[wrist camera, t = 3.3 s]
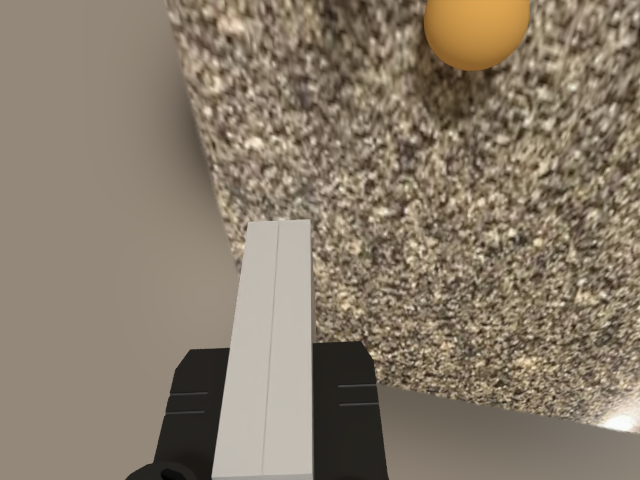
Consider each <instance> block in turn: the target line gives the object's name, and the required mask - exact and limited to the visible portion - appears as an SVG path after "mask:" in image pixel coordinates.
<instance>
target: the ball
mask: <svg viewBox="0 0 640 480" xmlns="http://www.w3.org/2000/svg"><path fill="white" fill-rule="evenodd" d="M529 15H530V5H529V0H428V1H427V4H426V8H425V15H424V29H425V34H426V38H427V41H428V43H429V45H430V47H431V49H432V50H433V52H434V53H435V54H436V55H437V57H438V58H439V59H441V60H442V61H443V62H445V63H446V64H448V65H449V66H451V67H454V68H456V69H460V70H466V71H478V70H484V69H487V68H490V67H493V66H495V65H497V64H499V63H500V62H502V61H503V60H505V59H506V58H507V57H508V56H510V55H511V54H512V53H513V52H514V50H515V49H516V48H517V47H518V45H519V44H520V42H521V41H522V39H523V37H524V35H525V33H526V30H527V27H528V23H529Z"/></svg>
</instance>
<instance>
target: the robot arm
mask: <svg viewBox="0 0 640 480" xmlns="http://www.w3.org/2000/svg"><path fill="white" fill-rule="evenodd" d="M125 480H389V478H388V474H387V466H386V458H385V451H384V442H383V434H382V425H381V417H380V409H379V402H378V394H377V387H376V377H375V368H374V360H373V359H372V357H371V356H370V354H369V353H368V351H367V350H366V348H365V347H364V345H363V343H362V342H361V341H353V342H328V343H316V317H315V290H314V273H313V257H312V240H311V224H310V219H307V220H284V221H261V222H248V228H247V235H246V242H245V249H244V256H243V263H242V270H241V276H240V283H239V290H238V297H237V305H236V311H235V318H234V325H233V332H232V339H231V346H230V348H217V349H192V350H189V352H188V353H187V354H186V356H185V357H184V359H183V360H182V361H181V363H180V364H179V365H178V367H177V368H176V370H175V373H174V377H173V382H172V386H171V390H170V397H169V399H168V403H167V407H166V415H165V416H164V420H163V424H162V428H161V432H160V436H159V440H158V445H157V449H156V454H155V457H154V462H153V463H152V464H147V465H145V466H144V467H142V468H140V469H138V470H137V471H135V472H133V473H131V474H130V475H129V476H128V477H127V478H126V479H125Z"/></svg>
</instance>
